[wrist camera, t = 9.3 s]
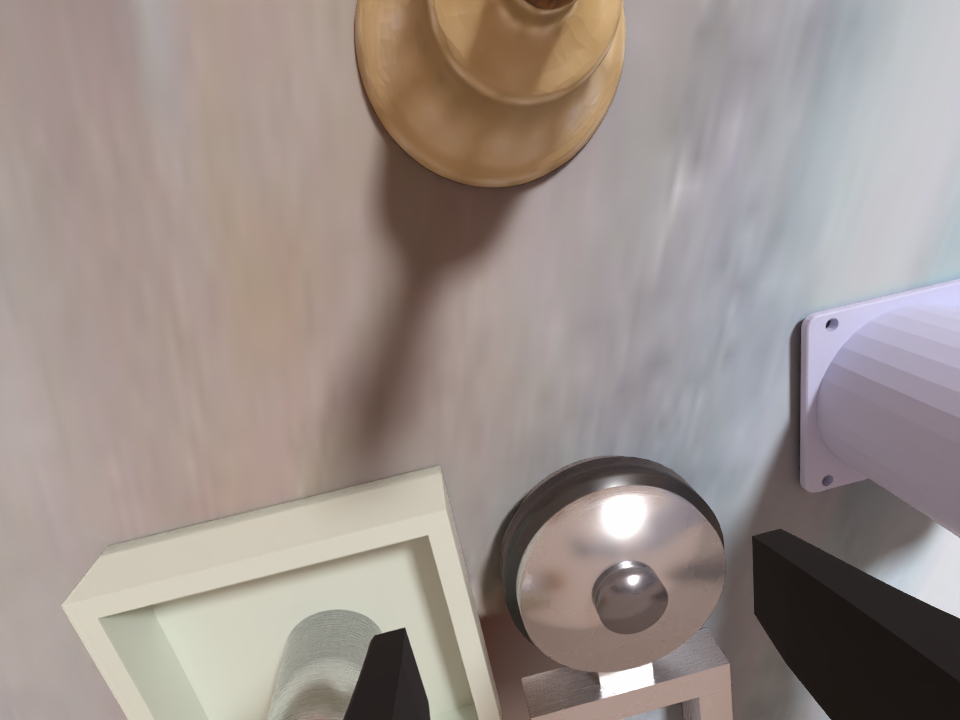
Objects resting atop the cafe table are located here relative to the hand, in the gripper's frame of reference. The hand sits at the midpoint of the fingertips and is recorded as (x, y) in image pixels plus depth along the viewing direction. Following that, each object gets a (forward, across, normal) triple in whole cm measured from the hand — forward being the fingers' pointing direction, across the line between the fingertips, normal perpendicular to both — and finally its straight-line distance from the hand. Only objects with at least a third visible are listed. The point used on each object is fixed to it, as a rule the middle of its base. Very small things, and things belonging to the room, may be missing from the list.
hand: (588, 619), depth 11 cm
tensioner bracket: (+10, -3, +13) cm, 17 cm away
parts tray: (+10, +9, +8) cm, 16 cm away
